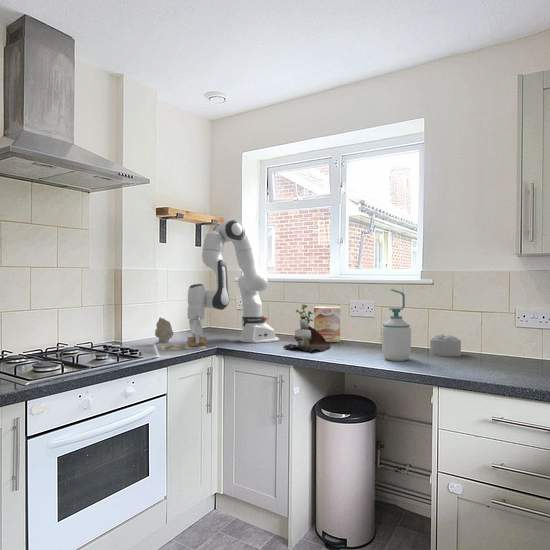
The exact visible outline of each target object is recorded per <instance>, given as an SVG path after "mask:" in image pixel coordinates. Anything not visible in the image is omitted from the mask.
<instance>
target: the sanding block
mask: <svg viewBox="0 0 550 550" xmlns="http://www.w3.org/2000/svg"><path fill="white" fill-rule="evenodd" d="M195 339H196V337H193V336H187V344H188V347H200V346H206V347H207V336H205V335H204V336H203V335H200V339H199V343H196V342H195Z"/></svg>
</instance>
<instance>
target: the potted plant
mask: <svg viewBox="0 0 550 550" xmlns="http://www.w3.org/2000/svg"><path fill="white" fill-rule="evenodd" d="M301 306H302V307H301V310H302V311H300V310H299V309H296V310H295V311H296V313H298V314H299V318H300V319H299V323H300V324H299V326H300V328H299V329H295V330H294V337H293V338H294V339H295V341H296V342H297V344H292V343H288V344H285V345H284V346H283V349H286V351H289V349H291V348H294V349H296V348H299V349H301V350H302V351H305V352H306V351H307V350H308V351H309V352H310V353H313V350H314V349H317V350H319V351H324V352H326V351H327V349H330V348H331V347H332V345H331V344H330V342H326V340H325V339H324V338H323V337H322V335H321V334H320V333H318V332H317V331H316V330H315V329H314V327H312V326H310V325H309V324H310V322H314V319H311V315H314V312H312V311H309V310H307V313H306V311H305V309H306V308H308V305H307V304H306V303H305V304H301Z"/></svg>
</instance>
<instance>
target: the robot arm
mask: <svg viewBox="0 0 550 550" xmlns="http://www.w3.org/2000/svg"><path fill="white" fill-rule="evenodd" d="M229 242H231V243H232V245H233V246H234V252H235V256H236V261H237V265H238V267H239V268H240V269H241V271H242V275H240V276H239V277H238V279H237V287H238V288H239V291H240V295H241V300H242V301H241V302H242V317H241V325H242V329H241V336H240V340H239V341H240V342H243V343H253V344H254V343H255V344H258V343H259V344H260V343H261V344H262V343H268V342H278V341H280V337H277V336H276V332H275V329H274V328H273V327H271V326H270V325H269V324H268V323H267V322H266V321H269V320H268V319H269V318H268V317H267V316H263V302H262V300H261V298H260V295H259V293H261V292H263V291H265V290H266V289H267V288H268V284H269V282H268V278H267V277H266V276H265V275H264V273H263V271H262V269H261V267H260V264H259V262H258V259H257V255H256V249H255V246H254V245H255V244H254V242H253V239H252V235H250V233H249V232H248V231H246V230H245V228H244V226H243V224H242V223H241V222H240V221H239V220H236V219H235V220H234V219H233V220H227V221H223V222H222V223H219V224H217V225H215V226H214V228H213V230H211V231H208V232H207V233H206V234H205V237H204V241H203V243H202V244H203V245H202V253H201V259H202V262H203V264H204V265H205V266H206V267H207V268H209V269H211V270H213V271H214V273H215V276H216V289H213V290H212V289H209V288H207V287H206V286H204V284H203V283H196V284H195V283H194V284H192V285H190V286H189V287H188V289H187V290H188V291H187V304H188V306H187V320H188V319H189V320H188V321H189V330H190V331H191V332H192V337H196V339H195V342H196V343H199V339H200V336H203V320H204V319H205V316H206V315H205V314H206V312H205V311H206V310H205V309H207V308H208V309H215V310H220V311H223V310H225V309H226V308H227V307H228V305H229V304H230V295H229V287H228V286H229V285H228V268H227V263H226V262H225V261H224V256H223V255H224V246H225V243H229Z"/></svg>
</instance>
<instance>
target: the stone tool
mask: <svg viewBox="0 0 550 550" xmlns="http://www.w3.org/2000/svg"><path fill="white" fill-rule="evenodd" d="M156 322H157V323H156V325H155V326H156V329H155V330H154V335H155V336H154V337H156V338H158V343H170V339H172V338H173V336H174V331H173V328H172V325H171V322H170V321H168V320H166V319H165V318H162V317H160V316H159V317H158V320H157V321H156Z"/></svg>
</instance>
